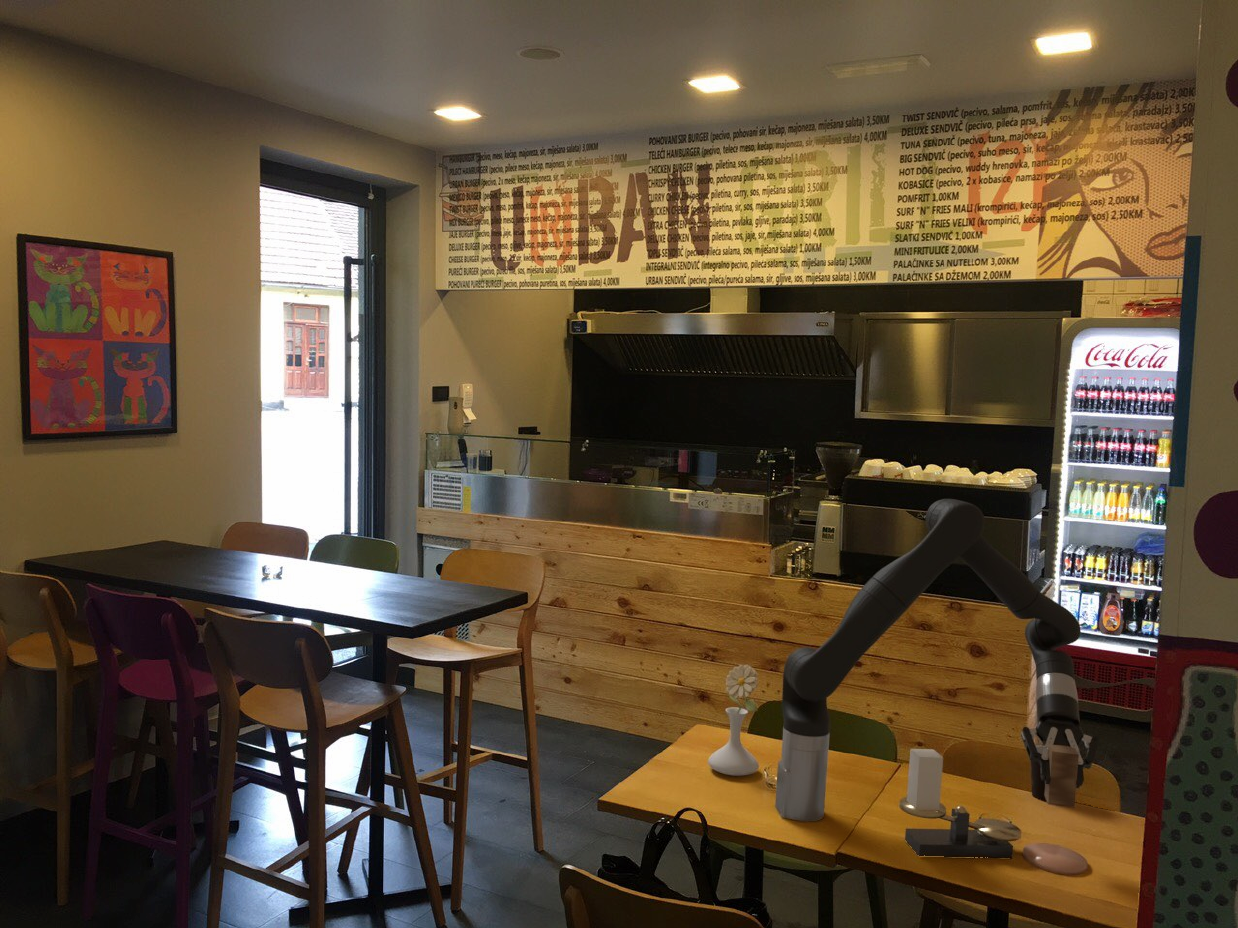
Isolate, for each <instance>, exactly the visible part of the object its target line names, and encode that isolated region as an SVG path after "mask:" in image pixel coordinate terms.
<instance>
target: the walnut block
mask: <svg viewBox="0 0 1238 928" xmlns="http://www.w3.org/2000/svg"><path fill="white" fill-rule="evenodd" d="M1078 758H1079V754H1078V753H1077V751H1076V749H1075V748H1072V747H1070V746H1063V745H1055V744H1053V745H1049V758H1048V761H1049V763H1050V777H1051V781H1050V783H1049V784H1045V794H1044V796H1045V798H1046V800H1047V802H1046V803H1047V805H1051V806H1058V807H1065V808H1073V809H1075V805H1076V796H1077V795H1076V793H1077V788H1076V780H1077V770H1078Z"/></svg>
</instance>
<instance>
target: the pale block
mask: <svg viewBox="0 0 1238 928" xmlns="http://www.w3.org/2000/svg"><path fill="white" fill-rule="evenodd" d="M909 751H910V752H909V753H910V754H909V766H908V776H907V777H908V778H907V779H908V780H907V791H906V793H907V794H906V797H907V801H908V802H909V803H910V804H911V805H912V806H913V807H914V808H915V810H939V806H940V803H941V789H942V777H943V767H944V763H943V762H944V757H943V756H942V755H941V754H940V753H939V752H937V751H936V750H935V749H931V748H910V750H909Z"/></svg>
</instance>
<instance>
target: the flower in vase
mask: <svg viewBox="0 0 1238 928" xmlns="http://www.w3.org/2000/svg"><path fill="white" fill-rule="evenodd" d="M728 672H729V673H728V674H727V675H726V679H725V682H726V683H725V686H726V687H725V692H726V693H727V695H728V696H729V699H730V700H732V702H734V703H736V704H737V705H738V706H739V707H733V706H731V707H727V708H725V712H726V714H727V716H728V718H729V725H730V727H729V729H730V732H729V733H730V734H729V739H728V741H727V743H726V744H724V745H723V746H721V748H719V749H717V750H715V751H714V752H713V753H712V754H711V755H710V756H709V758H708V760H707V763H708V765H709V767H710V768H711V769H712V770H714V771H716V772H718V773H721V774H724V775H727V776H737V777H738V776H747V775H752V774H755V773H756V772H757V771H758V770H759V768H760V766H759V762H758V760H757V758H756V757H755V756H754V755H753V754H752V753H751V752H750V751H748V750H747V749H746V748H745V747H744V746H743V744H742V742H741V730H742V724H743V721H744V719H745V717H746V716H747V715H748V713H749V712H758V711H759V709H758V707H757V705H756V703H755V700H754V699H748V698H749V696H751V695H752V692H755V689H756V688H757V686H758V685H759V682H758V680H759V678H758V676H759V674H758V672H757V671H756V670H755V669H754V668H753V667H752V666H750V665H749V664H745V665H743V664H739V666H734V667H733V669H732V670H729V671H728ZM741 698H743V699H744V701H743V703H742V704H741V703H740V702H739V700H740V699H741ZM744 706H745V708H743V707H744Z"/></svg>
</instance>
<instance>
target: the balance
mask: <svg viewBox="0 0 1238 928" xmlns="http://www.w3.org/2000/svg"><path fill="white" fill-rule="evenodd" d="M899 808H900V810H901V811H903V812H905V814H908V815H910V816H914V817H918V818H922V819H932V820H935V819H940V820H944V821H948V822H950V828H948V829H947V828H945V829H944V828H910V827H909V828H908V827H907V828H906V827H905V836H904V841H905V840H906V841H907V843H908V844H909V845H910V846H911V847H912V849H913V850H914V851H915V852H916V854H917V855H919V856H924V855H925V856H944V857H974V858H973V859H975V857H978V858H980V857H983V858H985V857H986V858H987V857H988V858H1010V859H1009V860H1012V859H1013V853H1014V852H1013V851H1014V845H1013V844H1012V843H1011V842H1016V841H1019V840H1021V837H1022V829H1020V828H1019V827H1018V826H1017V825H1016V824H1013V823H1011V822H1008V821H1005V820H1002V819H997V818H988V817H987V818H980V819H976V820H975V821H974V822H972V821H970V812H968V811H967V809H966V808H965V806H963V805H957V806H956V807H955V808H951V815H950V814H949V815H948V814H947V808H946V805H944V804H943V803H941V802H940V806H939V810H915V808H914V807H913V806H912V805H911V804H910V803H909V802H908V801H907V796H906V797H905V796H904V797H902V798H901V799H899ZM969 828H970V829H969ZM907 843H906V844H907ZM908 844H907V845H908ZM909 845H908V846H909ZM912 849H911V850H912ZM913 850H912V851H913ZM914 851H913V852H914ZM915 852H914V853H915ZM916 854H915V855H916ZM917 855H916V856H917Z"/></svg>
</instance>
